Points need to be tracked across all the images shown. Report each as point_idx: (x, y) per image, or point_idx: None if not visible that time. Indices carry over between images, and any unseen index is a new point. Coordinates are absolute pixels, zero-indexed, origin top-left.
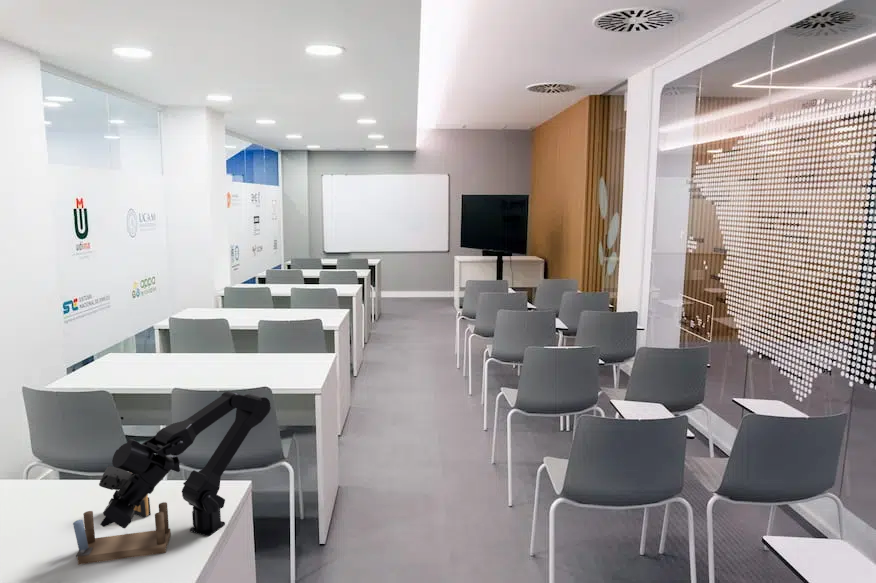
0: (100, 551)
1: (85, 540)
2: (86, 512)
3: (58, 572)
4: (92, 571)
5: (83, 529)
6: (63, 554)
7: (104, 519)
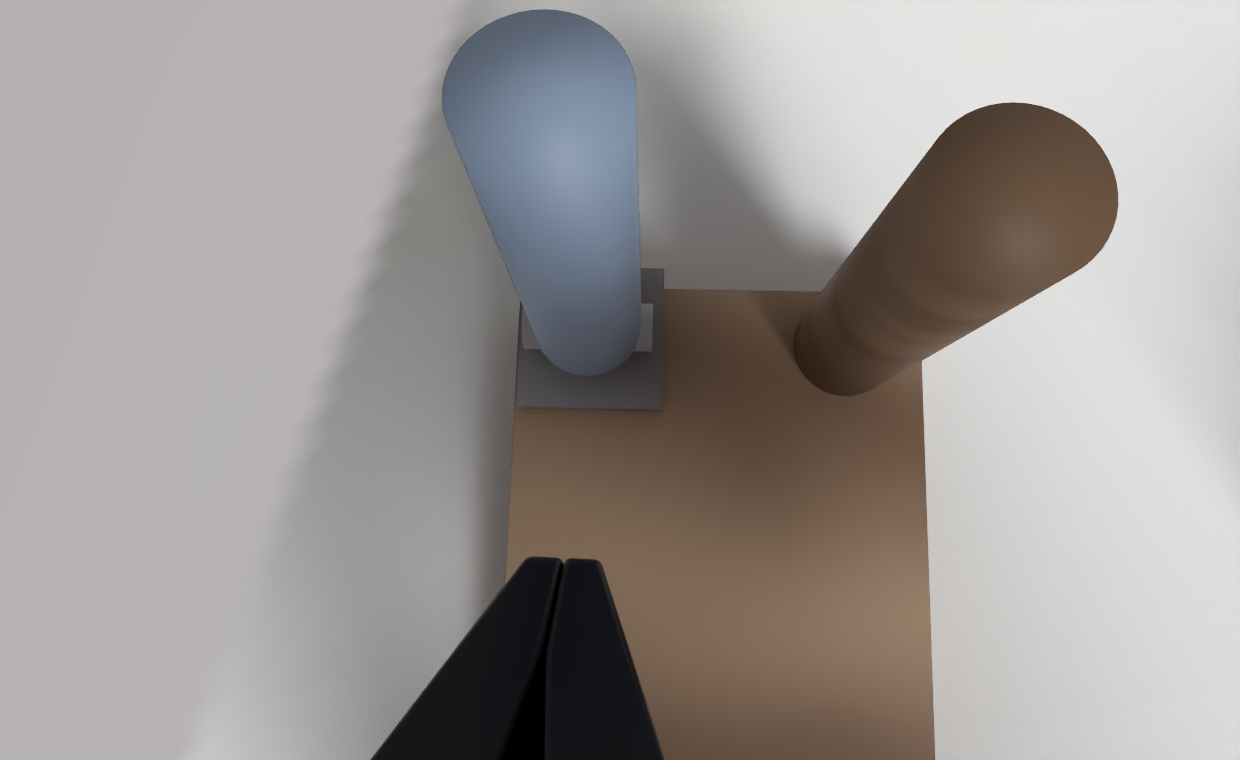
0: (565, 520)
1: (547, 330)
2: (1054, 149)
3: (454, 168)
4: (359, 485)
5: (533, 257)
6: (789, 119)
7: (432, 694)
